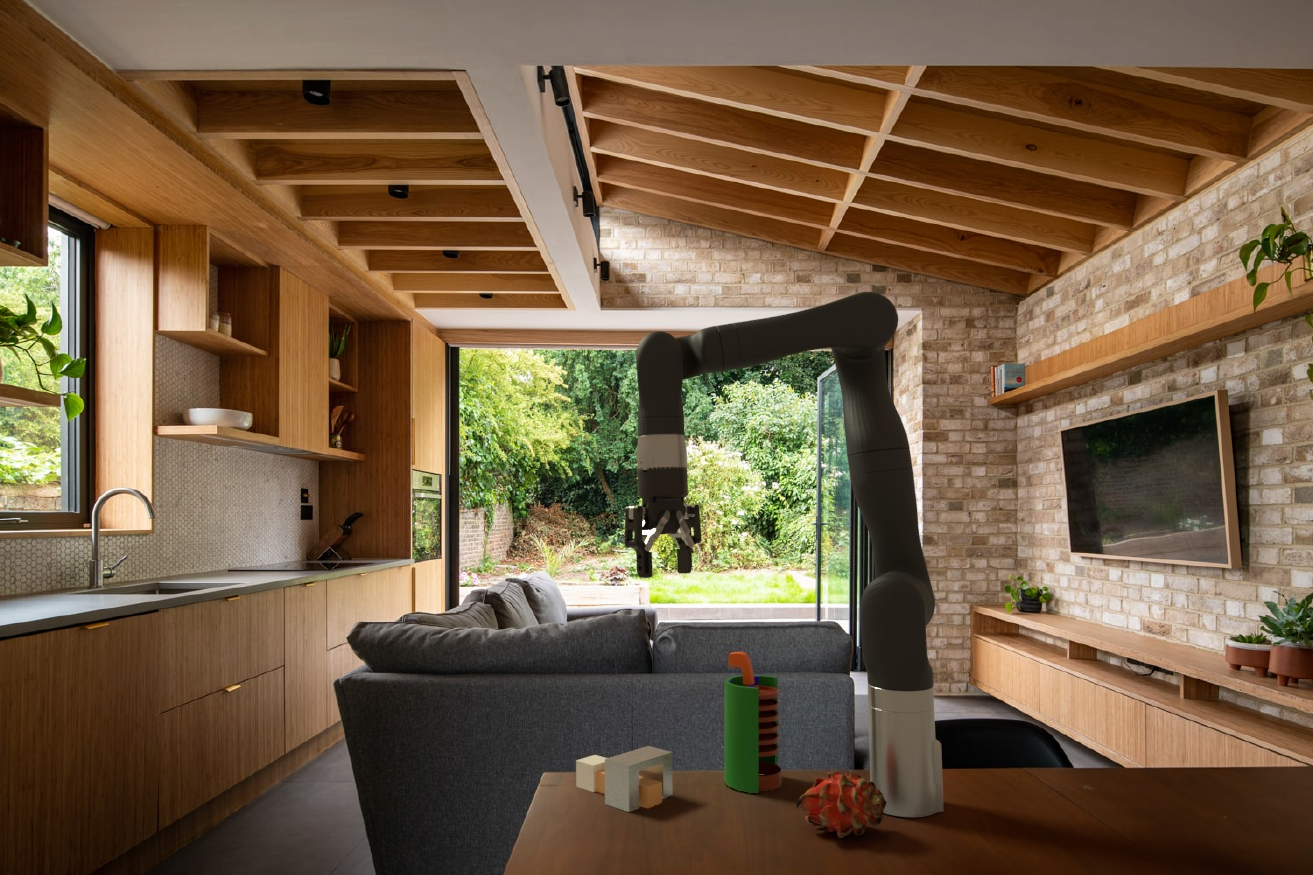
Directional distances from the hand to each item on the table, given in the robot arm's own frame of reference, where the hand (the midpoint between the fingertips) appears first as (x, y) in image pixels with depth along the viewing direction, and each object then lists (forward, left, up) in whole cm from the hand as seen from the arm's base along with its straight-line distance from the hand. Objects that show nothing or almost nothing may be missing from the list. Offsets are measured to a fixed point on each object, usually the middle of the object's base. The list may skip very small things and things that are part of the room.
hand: (665, 575), depth 126 cm
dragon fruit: (-22, +13, -33) cm, 42 cm away
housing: (+4, -3, -33) cm, 33 cm away
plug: (+7, -6, -33) cm, 34 cm away
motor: (-15, -8, -33) cm, 37 cm away
